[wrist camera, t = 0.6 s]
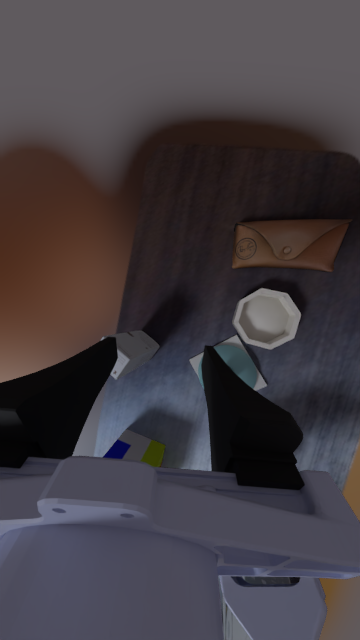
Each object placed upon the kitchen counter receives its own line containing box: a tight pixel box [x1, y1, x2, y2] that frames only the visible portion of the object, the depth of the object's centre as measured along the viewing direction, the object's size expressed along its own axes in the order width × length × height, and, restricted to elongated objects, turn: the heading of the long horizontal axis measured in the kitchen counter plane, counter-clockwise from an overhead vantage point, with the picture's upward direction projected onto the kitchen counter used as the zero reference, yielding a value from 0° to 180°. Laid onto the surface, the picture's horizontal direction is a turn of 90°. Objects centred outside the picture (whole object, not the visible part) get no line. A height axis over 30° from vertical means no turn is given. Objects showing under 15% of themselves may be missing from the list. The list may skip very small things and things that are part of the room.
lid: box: [198, 345, 257, 388], centre depth 29 cm, size 11×11×4 cm
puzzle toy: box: [103, 429, 165, 467], centre depth 31 cm, size 10×10×10 cm
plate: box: [189, 335, 267, 391], centre depth 31 cm, size 11×11×1 cm
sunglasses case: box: [232, 219, 352, 272], centre depth 28 cm, size 18×7×7 cm
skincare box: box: [101, 330, 160, 380], centre depth 30 cm, size 6×4×12 cm
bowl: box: [232, 288, 301, 349], centre depth 28 cm, size 10×10×3 cm
